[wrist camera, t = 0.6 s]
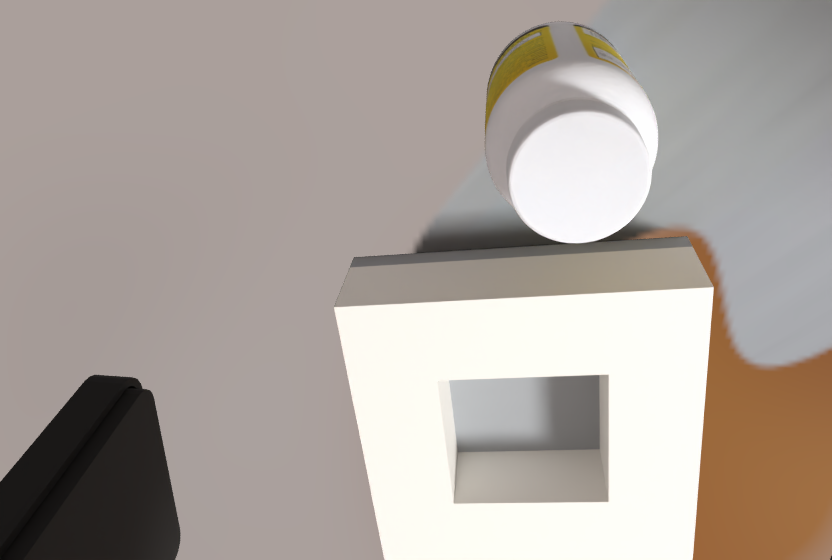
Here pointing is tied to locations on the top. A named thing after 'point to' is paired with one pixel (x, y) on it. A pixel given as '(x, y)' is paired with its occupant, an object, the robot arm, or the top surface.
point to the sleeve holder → (531, 398)
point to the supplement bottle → (569, 133)
